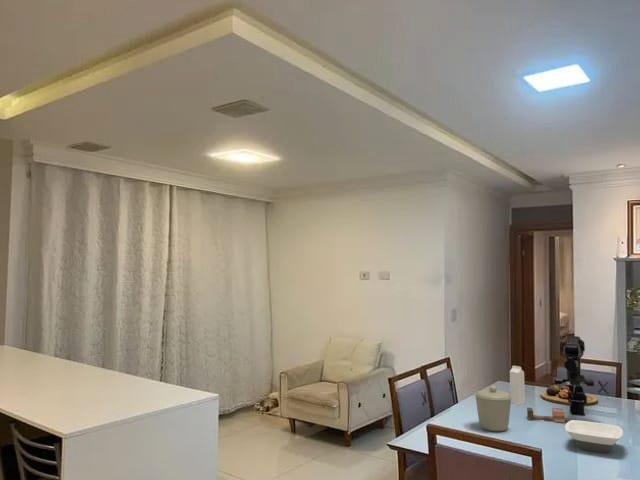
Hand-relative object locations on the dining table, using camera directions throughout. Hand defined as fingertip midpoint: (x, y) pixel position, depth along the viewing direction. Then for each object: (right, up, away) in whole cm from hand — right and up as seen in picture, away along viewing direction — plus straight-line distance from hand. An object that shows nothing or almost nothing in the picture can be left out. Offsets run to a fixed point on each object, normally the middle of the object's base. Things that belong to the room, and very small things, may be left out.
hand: (573, 398), depth 265 cm
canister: (-46, -12, -12) cm, 49 cm away
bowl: (-11, -10, -39) cm, 42 cm away
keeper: (-7, -12, +1) cm, 14 cm away
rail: (-12, -13, +3) cm, 18 cm away
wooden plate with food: (+21, -16, +47) cm, 54 cm away
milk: (-15, -15, +37) cm, 43 cm away
